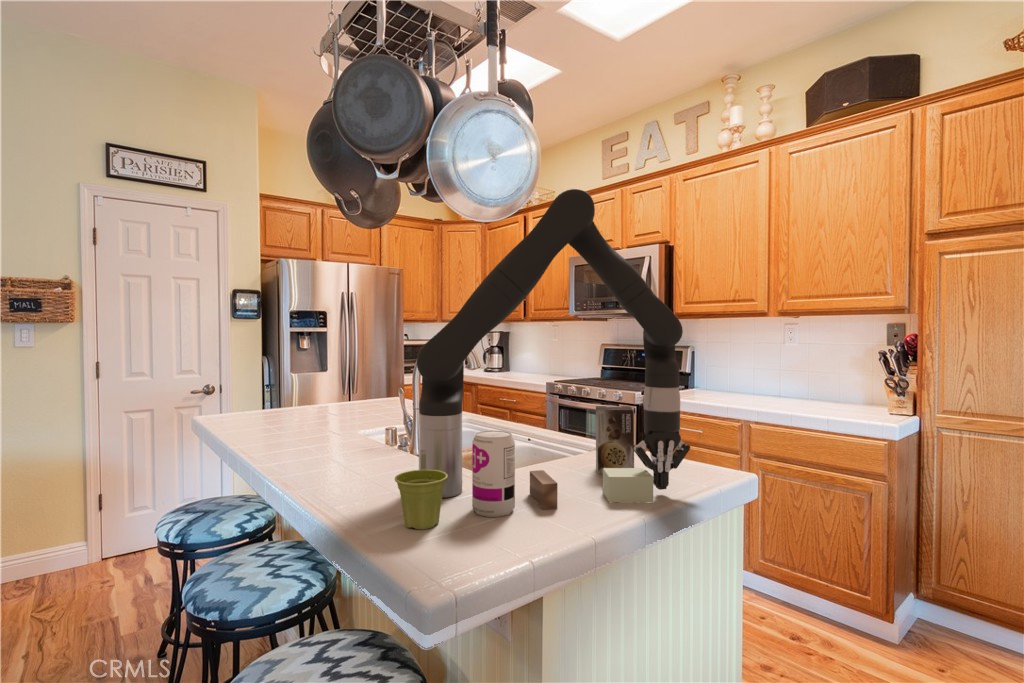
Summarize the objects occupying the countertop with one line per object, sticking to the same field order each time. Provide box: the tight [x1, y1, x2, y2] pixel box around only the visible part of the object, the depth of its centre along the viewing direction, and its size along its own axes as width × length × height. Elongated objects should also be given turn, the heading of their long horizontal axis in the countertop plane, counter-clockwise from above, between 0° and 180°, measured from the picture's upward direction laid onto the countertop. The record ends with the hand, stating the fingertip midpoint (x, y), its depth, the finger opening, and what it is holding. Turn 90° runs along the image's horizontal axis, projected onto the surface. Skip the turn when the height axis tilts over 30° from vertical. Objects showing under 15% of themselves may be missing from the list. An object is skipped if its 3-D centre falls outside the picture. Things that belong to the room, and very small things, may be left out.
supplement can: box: [471, 429, 516, 518], centre depth 99 cm, size 8×8×15 cm
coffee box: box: [595, 405, 635, 475], centre depth 129 cm, size 9×6×16 cm
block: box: [602, 467, 654, 503], centre depth 108 cm, size 9×7×6 cm
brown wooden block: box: [529, 469, 558, 510], centre depth 105 cm, size 3×10×5 cm, turn 13°
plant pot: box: [394, 469, 448, 530], centre depth 93 cm, size 9×9×9 cm
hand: (661, 488), depth 110 cm, fingers closed
